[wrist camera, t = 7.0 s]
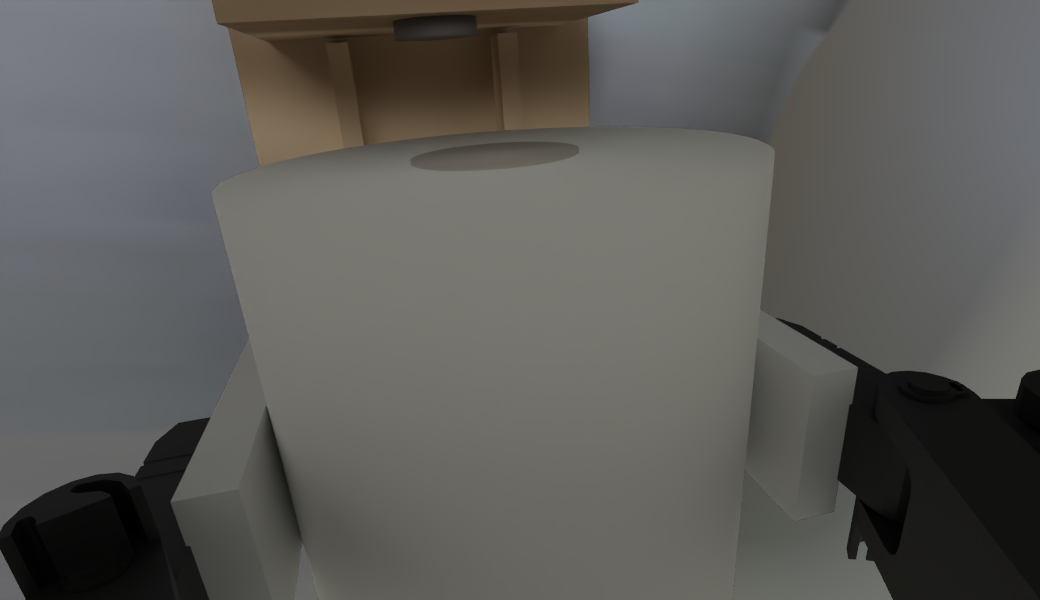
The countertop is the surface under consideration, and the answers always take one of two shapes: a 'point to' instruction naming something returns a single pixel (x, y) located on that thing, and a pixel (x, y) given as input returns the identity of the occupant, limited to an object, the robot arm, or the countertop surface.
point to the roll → (510, 357)
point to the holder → (406, 68)
